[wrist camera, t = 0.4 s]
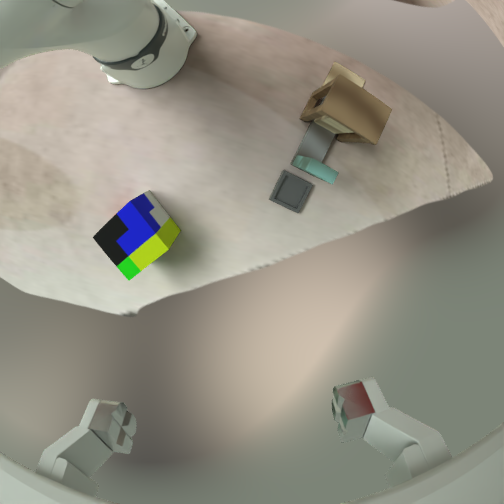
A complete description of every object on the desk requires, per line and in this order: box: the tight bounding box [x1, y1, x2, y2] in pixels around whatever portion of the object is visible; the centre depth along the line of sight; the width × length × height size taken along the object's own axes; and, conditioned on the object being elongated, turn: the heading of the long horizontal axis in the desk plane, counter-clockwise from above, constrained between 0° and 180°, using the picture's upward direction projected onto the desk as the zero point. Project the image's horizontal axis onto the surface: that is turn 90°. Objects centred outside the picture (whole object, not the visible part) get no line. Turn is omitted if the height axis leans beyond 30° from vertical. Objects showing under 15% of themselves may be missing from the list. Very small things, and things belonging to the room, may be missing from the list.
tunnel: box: [300, 74, 392, 145], centre depth 38 cm, size 6×9×14 cm
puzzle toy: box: [93, 190, 181, 280], centre depth 46 cm, size 10×10×10 cm
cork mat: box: [323, 62, 365, 88], centre depth 41 cm, size 7×7×1 cm
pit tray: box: [269, 170, 313, 213], centre depth 49 cm, size 6×6×1 cm
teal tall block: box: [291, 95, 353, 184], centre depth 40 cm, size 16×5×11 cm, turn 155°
